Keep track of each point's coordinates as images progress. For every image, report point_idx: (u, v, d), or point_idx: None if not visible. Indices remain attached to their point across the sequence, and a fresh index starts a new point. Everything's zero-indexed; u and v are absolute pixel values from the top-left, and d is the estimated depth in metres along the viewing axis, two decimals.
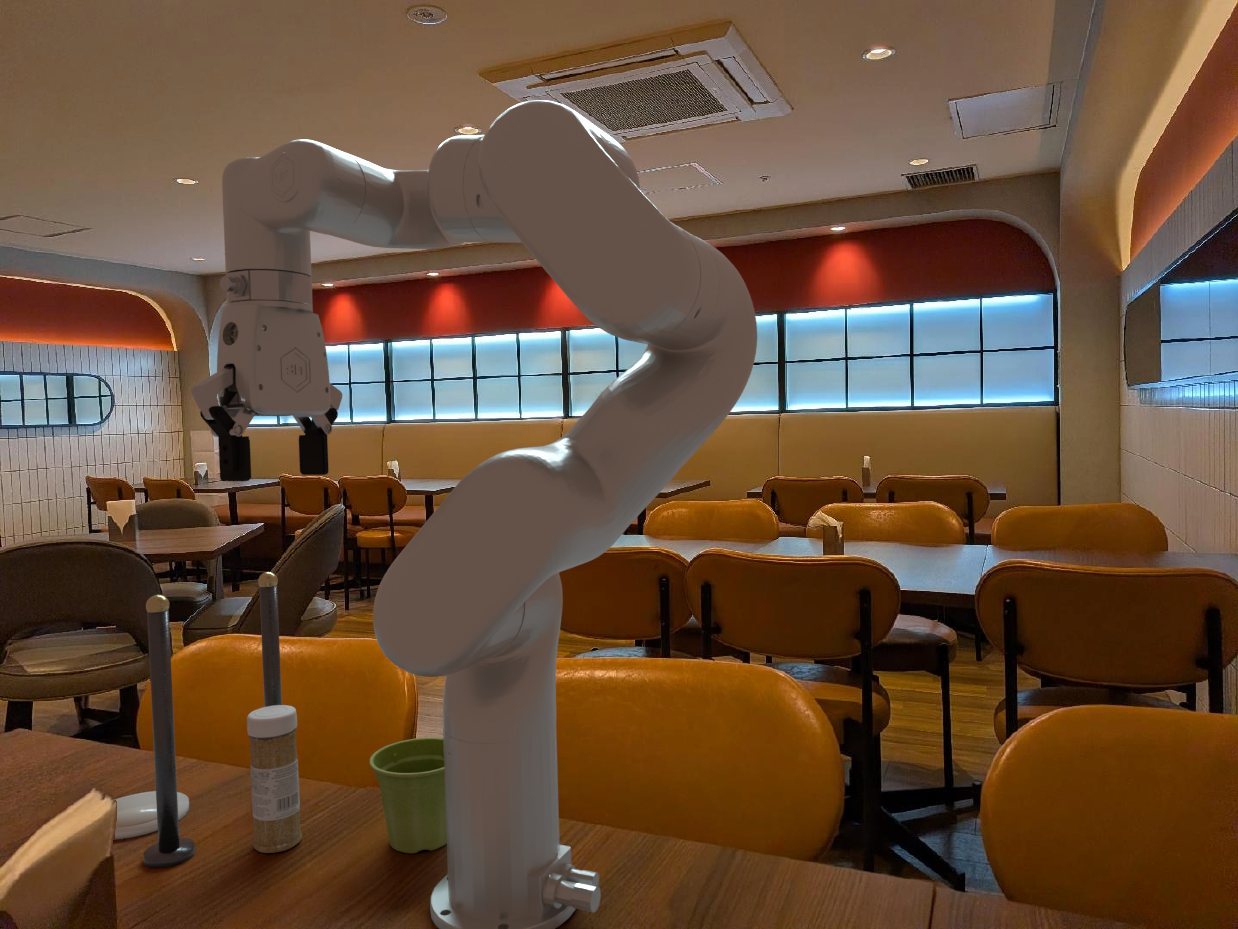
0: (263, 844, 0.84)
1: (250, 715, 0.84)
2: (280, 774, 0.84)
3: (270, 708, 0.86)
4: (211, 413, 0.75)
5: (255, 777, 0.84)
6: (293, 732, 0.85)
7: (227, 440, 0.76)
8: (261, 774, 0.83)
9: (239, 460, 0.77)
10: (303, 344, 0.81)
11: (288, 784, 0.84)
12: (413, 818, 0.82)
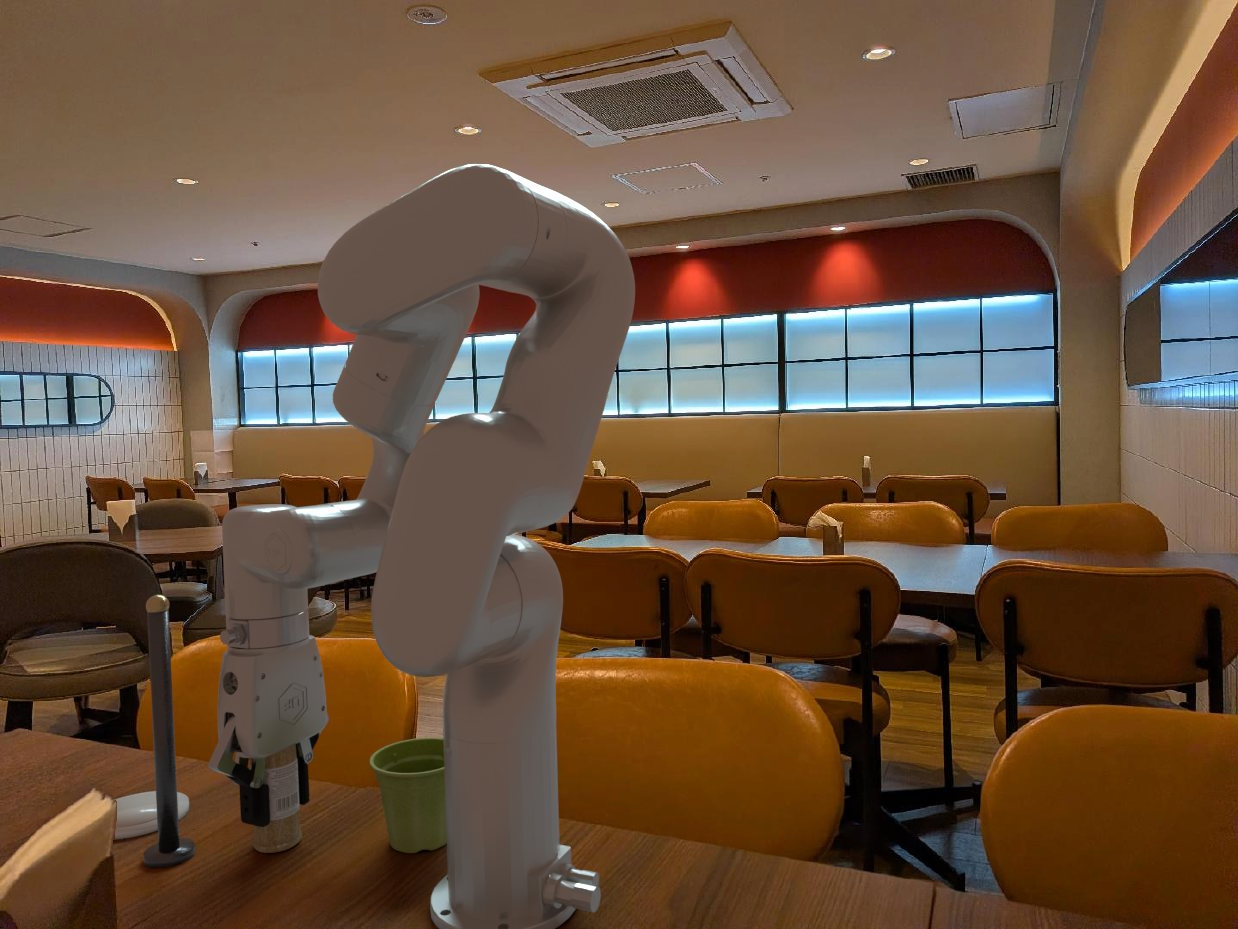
0: (263, 844, 0.84)
1: None
2: (280, 774, 0.84)
3: None
4: (234, 775, 0.80)
5: None
6: None
7: (247, 791, 0.82)
8: None
9: (259, 808, 0.82)
10: (300, 676, 0.85)
11: (287, 784, 0.84)
12: (413, 818, 0.82)
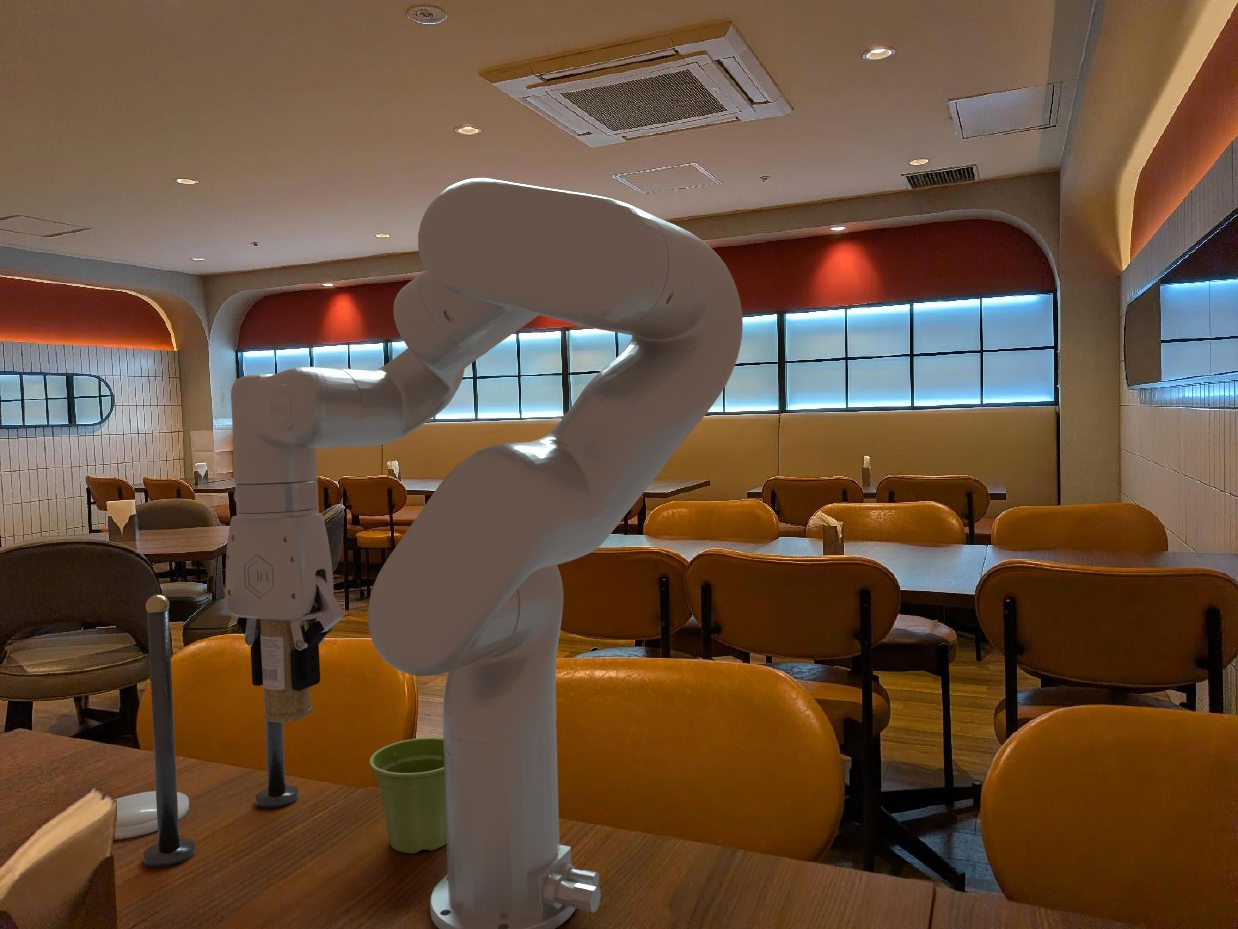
0: None
1: None
2: (261, 642, 0.84)
3: None
4: None
5: None
6: None
7: None
8: None
9: None
10: (266, 551, 0.82)
11: (265, 656, 0.84)
12: (413, 818, 0.82)
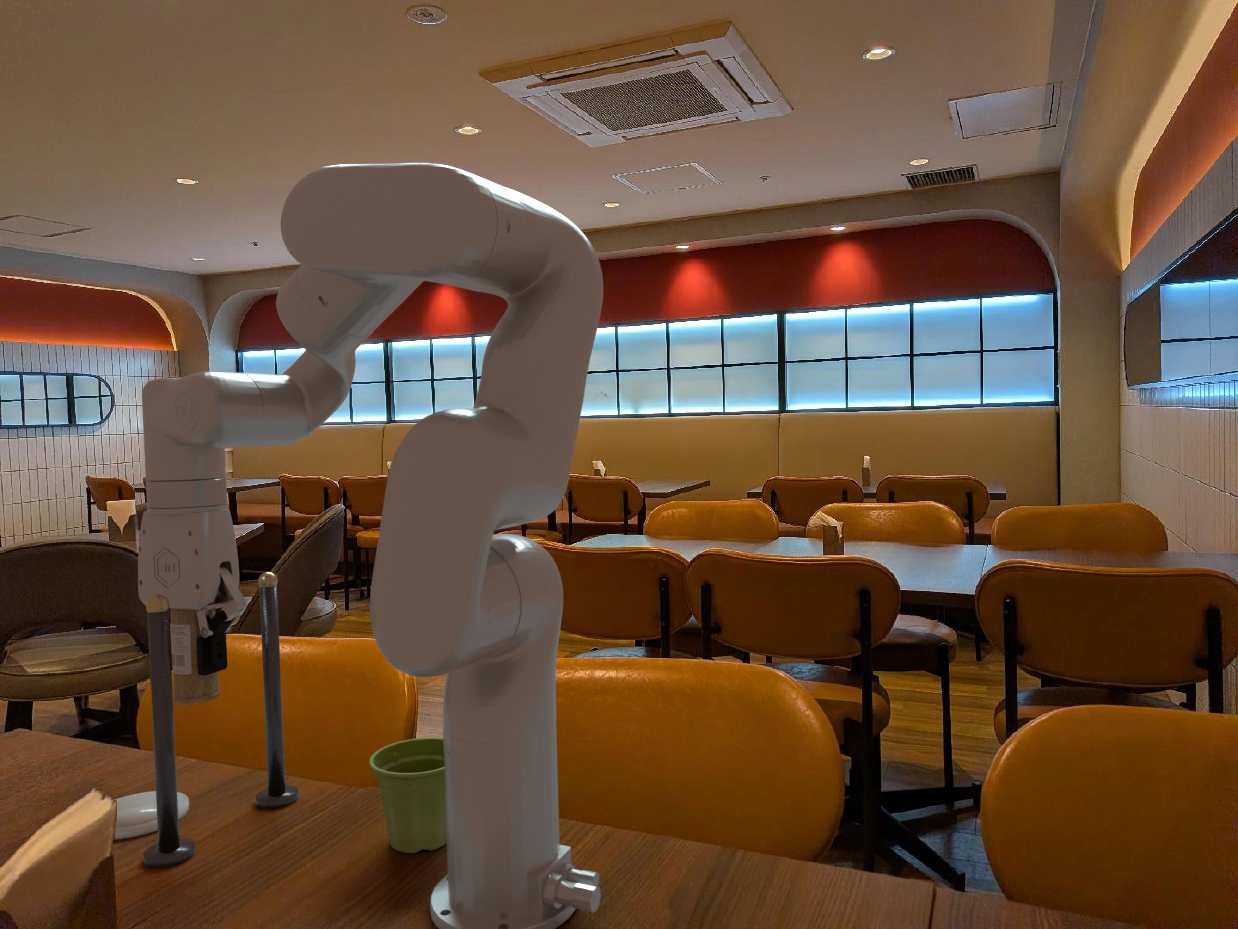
0: None
1: None
2: (170, 630, 0.89)
3: None
4: None
5: None
6: None
7: None
8: None
9: None
10: (173, 544, 0.87)
11: (173, 643, 0.89)
12: (413, 818, 0.82)
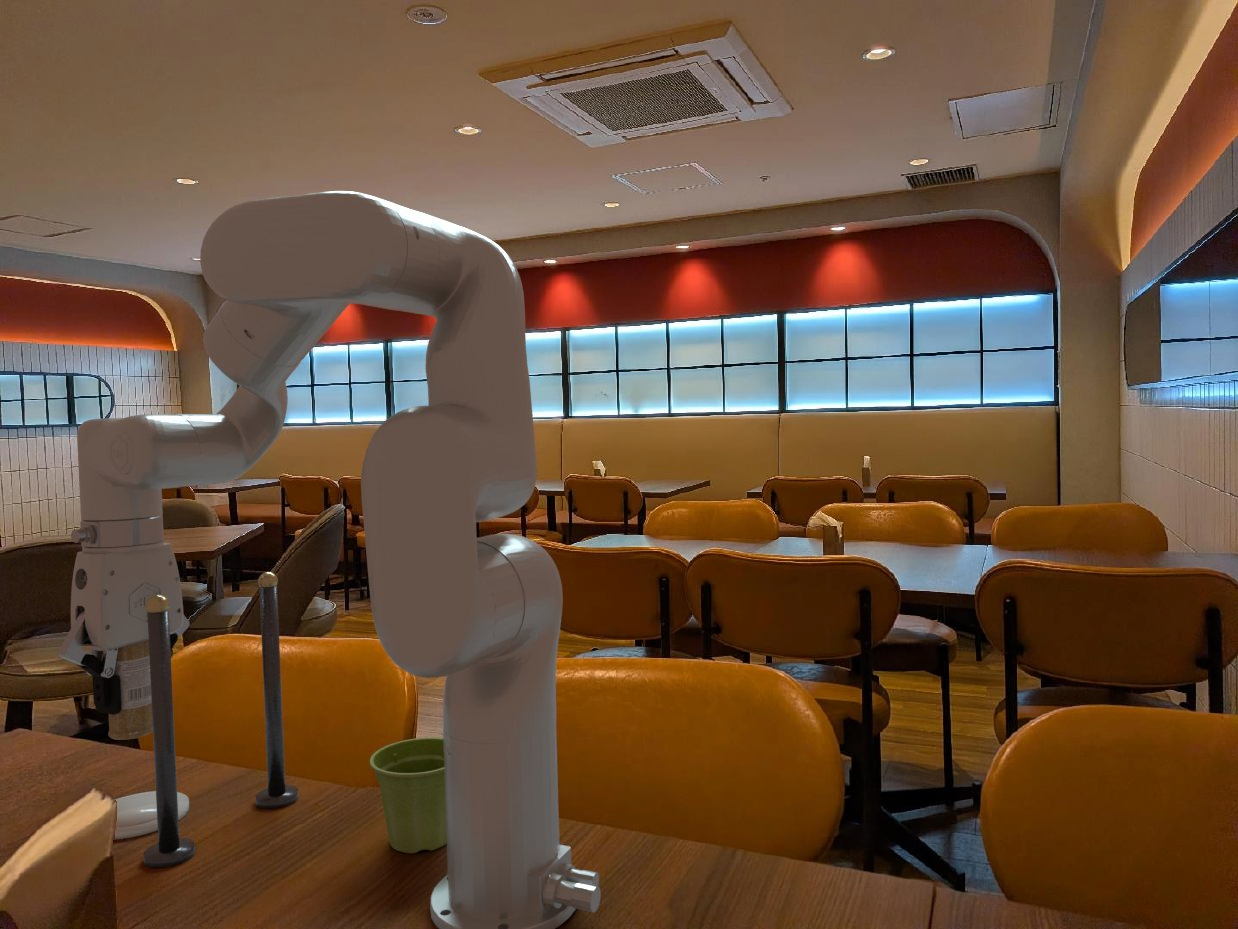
0: (116, 731, 0.90)
1: None
2: (131, 666, 0.90)
3: None
4: (84, 663, 0.87)
5: None
6: None
7: (99, 680, 0.88)
8: None
9: (110, 696, 0.89)
10: (153, 577, 0.91)
11: (139, 677, 0.91)
12: (413, 818, 0.82)
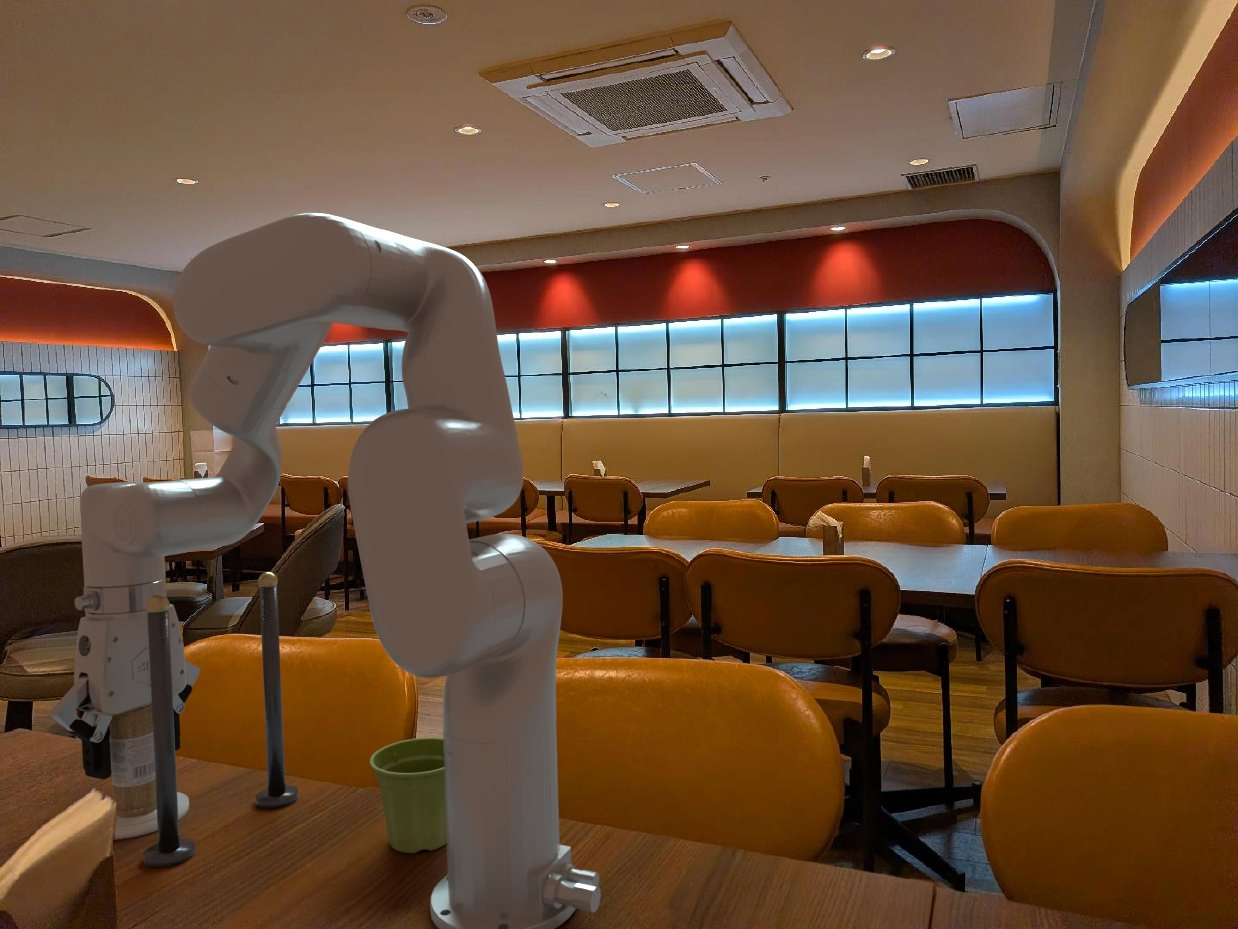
0: (121, 809, 0.90)
1: None
2: (136, 744, 0.90)
3: None
4: (72, 728, 0.86)
5: (112, 747, 0.90)
6: (150, 705, 0.91)
7: (88, 745, 0.87)
8: (118, 744, 0.90)
9: (100, 761, 0.88)
10: None
11: (144, 754, 0.91)
12: (413, 818, 0.82)
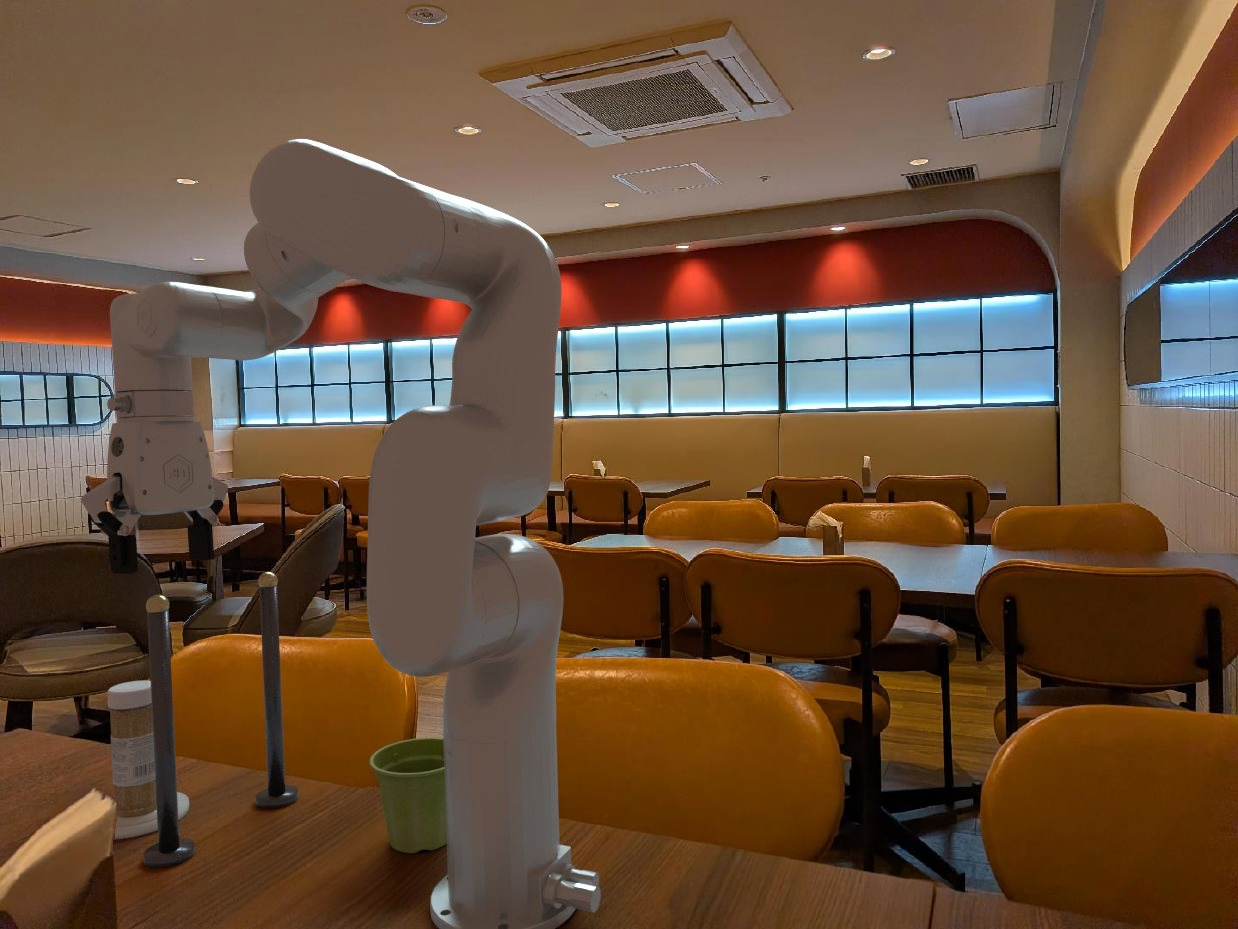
0: (121, 808, 0.90)
1: (110, 689, 0.91)
2: (137, 743, 0.90)
3: (132, 683, 0.93)
4: (99, 517, 0.87)
5: (113, 746, 0.90)
6: (151, 705, 0.92)
7: (115, 539, 0.89)
8: (119, 743, 0.90)
9: (127, 556, 0.89)
10: (185, 450, 0.94)
11: (145, 753, 0.91)
12: (413, 818, 0.82)
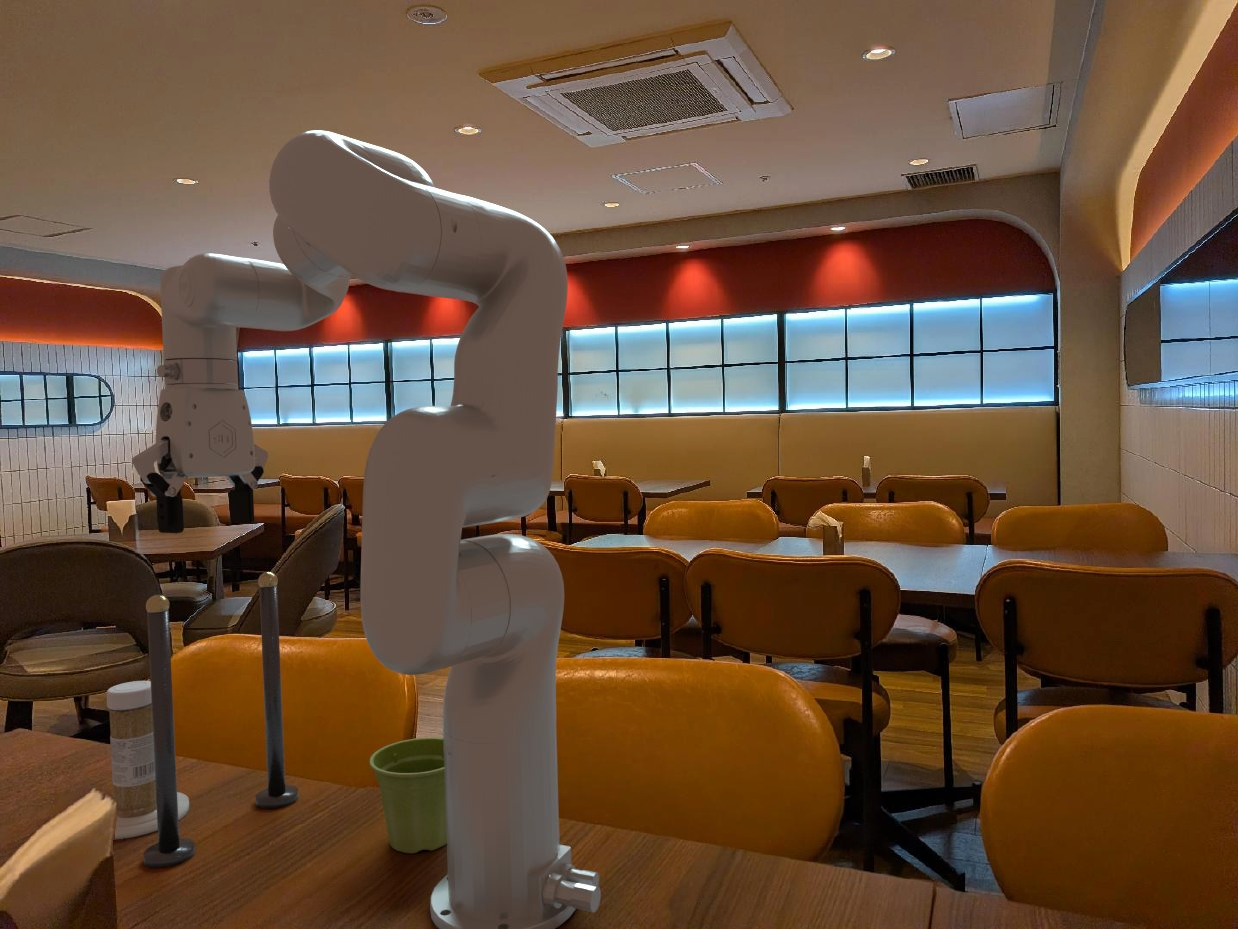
0: (121, 808, 0.90)
1: (109, 689, 0.91)
2: (136, 744, 0.90)
3: (131, 683, 0.93)
4: (149, 478, 0.91)
5: (113, 746, 0.90)
6: (151, 705, 0.92)
7: (163, 500, 0.93)
8: (119, 744, 0.90)
9: (173, 516, 0.93)
10: (229, 417, 0.98)
11: (144, 753, 0.91)
12: (413, 818, 0.82)
